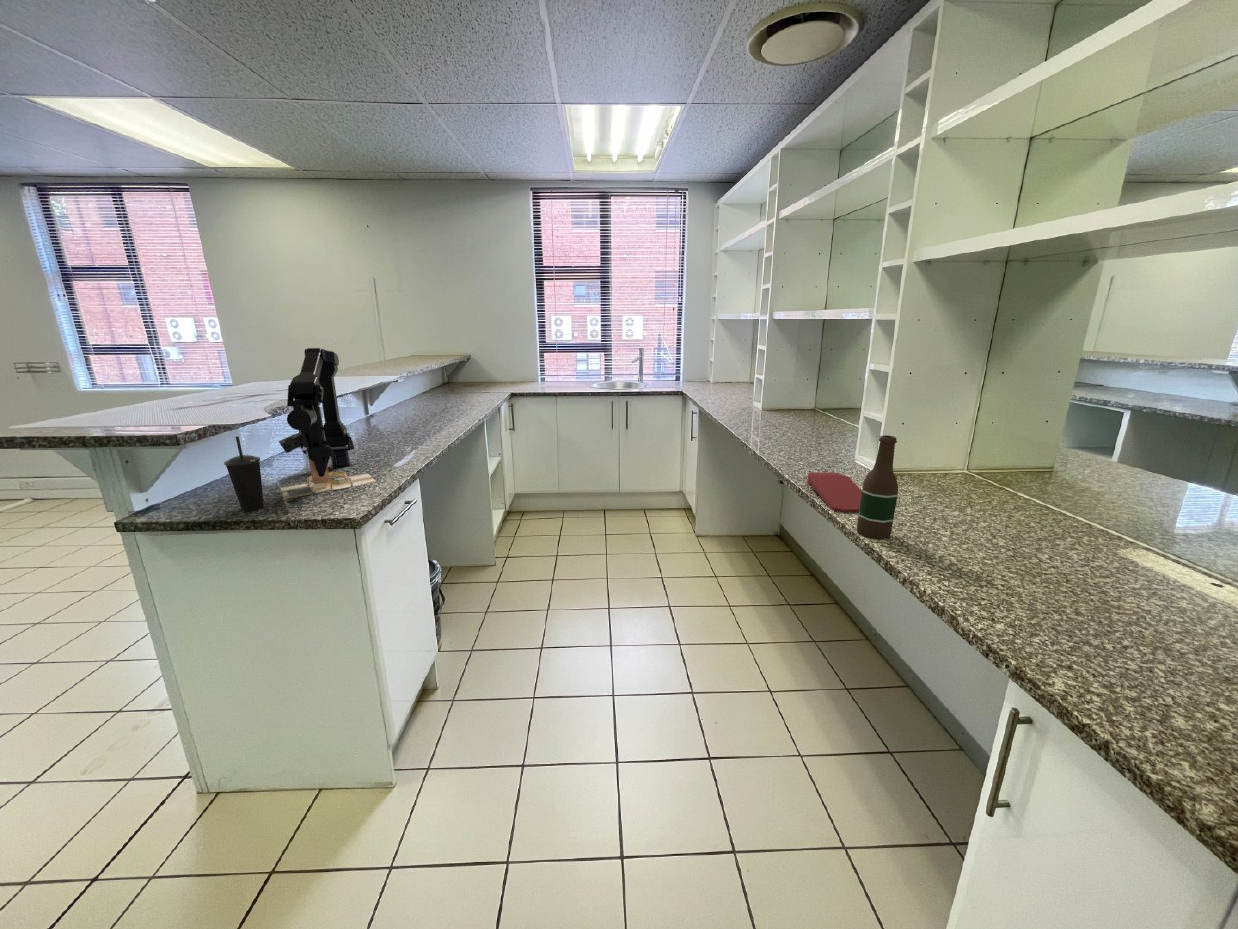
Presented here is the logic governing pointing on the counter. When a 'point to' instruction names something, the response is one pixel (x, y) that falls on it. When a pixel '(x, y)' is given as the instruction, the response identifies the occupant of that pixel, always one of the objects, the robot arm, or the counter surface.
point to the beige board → (306, 490)
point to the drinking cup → (246, 480)
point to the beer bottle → (879, 494)
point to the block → (315, 475)
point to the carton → (836, 491)
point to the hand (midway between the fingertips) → (320, 474)
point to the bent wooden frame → (331, 481)
